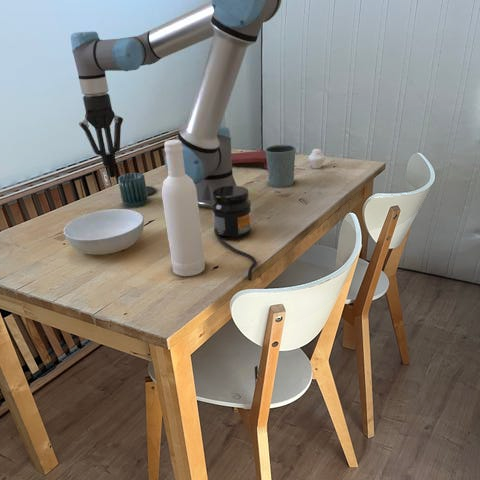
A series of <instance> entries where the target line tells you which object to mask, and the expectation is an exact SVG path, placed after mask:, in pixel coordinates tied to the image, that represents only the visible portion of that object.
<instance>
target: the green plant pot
mask: <svg viewBox="0 0 480 480" xmlns="http://www.w3.org/2000/svg"><path fill="white" fill-rule="evenodd" d="M296 149H297V148H296V146H294V145H292V144H275V145H271V146H267V147H266V148H265V149H264V150H265V152H266V160H267V169H266V170H267V174H268V184H269V186H271V187H274V188H287V187H291V186H293V185H294V182H295V167H296V166H295V160H296V151H297V150H296Z"/></svg>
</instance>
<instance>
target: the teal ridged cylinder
mask: <svg viewBox="0 0 480 480" xmlns="http://www.w3.org/2000/svg"><path fill="white" fill-rule="evenodd" d="M117 182H118V186H119V191H120V198H121V202H122V206H123V207H125V208H133V209H134V208H140V207H144V206H146V205H148V204H149V196H147V190H146V186H147V185H146V178H145V174H143V173H141V172H130V173H126V174H125V173H124V174H121V175H119V176H118V178H117Z"/></svg>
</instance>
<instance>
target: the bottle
mask: <svg viewBox="0 0 480 480" xmlns="http://www.w3.org/2000/svg"><path fill="white" fill-rule="evenodd" d="M163 144H164V145H163V146H164V152H165V156H166V159H167V167H168V170H167V172H168V175H167V177H165V179H164V181H163V183H162V187H161V188H162V189H161V198H162V207H163V212H164V217H165V226H166V231H167V238H168V246H169V252H170V258H171V259H170V262H171V267H172V271H173V273H174V274H175V275H177V276H178V277H179V276H180V277H195V276H197V275H200V274H201V273H203V272H204V270H205V268H206V265H205V262H206V261H205V255H204V247H203V238H202V237H203V236H202V230H201V229H202V228H201V227H202V226H201V220H200V212H199V211H200V210H199V207H198V200H197V190H196V186H195V184H194V182H193V180H192V179H191V178H190V177H189V176H187V175H186V174H185V168H184V160H183V146H182V143H181V141H180V140H175V139H170V140H166V141H165V142H163Z"/></svg>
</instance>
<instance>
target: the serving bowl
mask: <svg viewBox="0 0 480 480" xmlns="http://www.w3.org/2000/svg"><path fill="white" fill-rule="evenodd" d="M144 227H145V218H144V216H143V214H141V213H140V212H138V211H136V210H133V209H125V208H110V209H103V210H97V211H93V212H89V213H86V214H83V215H80V216H78V217H75V218H74V219H72V220H70V221H69V222H67V224H66V225H65V226H64V227H63V231H62V232H63V235H64V237H65V239H66V241H67V242H68V244H69V245H70V246H71V247H72V248H74V249H75V250H76V251H78V252H81V253H83V254H87V255H95V256H96V255H101V256H102V255H108V254H113V253H117V252H121V251H123V250H126V249H128V248H130V247H131V246H133V245H134V244H136V243H137V241H138V240H139V239H140V237H141V236H142V234H143V233H144Z"/></svg>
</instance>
